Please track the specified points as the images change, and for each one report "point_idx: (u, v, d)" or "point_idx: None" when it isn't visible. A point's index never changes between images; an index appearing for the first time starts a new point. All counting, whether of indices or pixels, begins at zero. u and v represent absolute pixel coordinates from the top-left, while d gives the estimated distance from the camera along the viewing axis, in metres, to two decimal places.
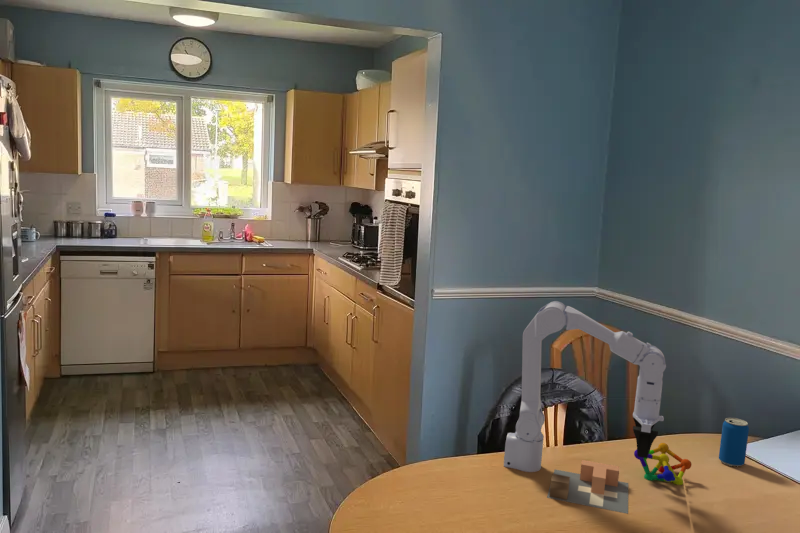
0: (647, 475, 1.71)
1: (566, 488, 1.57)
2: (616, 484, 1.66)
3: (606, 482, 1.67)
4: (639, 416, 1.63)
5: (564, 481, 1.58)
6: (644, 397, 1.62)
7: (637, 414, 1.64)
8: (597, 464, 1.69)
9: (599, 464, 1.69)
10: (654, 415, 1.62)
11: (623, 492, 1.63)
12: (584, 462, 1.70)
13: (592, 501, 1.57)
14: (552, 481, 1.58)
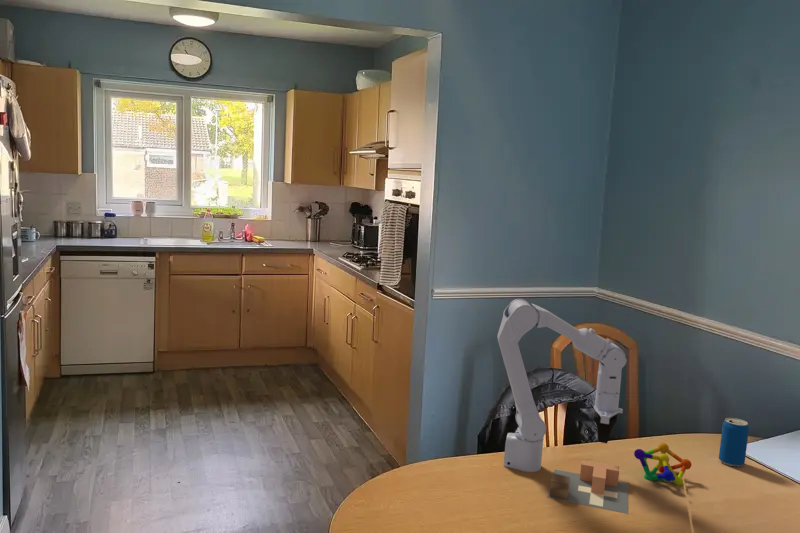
0: (647, 475, 1.71)
1: (566, 488, 1.57)
2: (616, 484, 1.66)
3: (606, 482, 1.67)
4: (599, 408, 1.71)
5: (564, 481, 1.58)
6: (607, 391, 1.70)
7: (597, 407, 1.72)
8: (597, 464, 1.69)
9: (599, 464, 1.69)
10: (613, 408, 1.70)
11: (623, 492, 1.63)
12: (584, 462, 1.70)
13: (592, 501, 1.57)
14: (552, 481, 1.58)
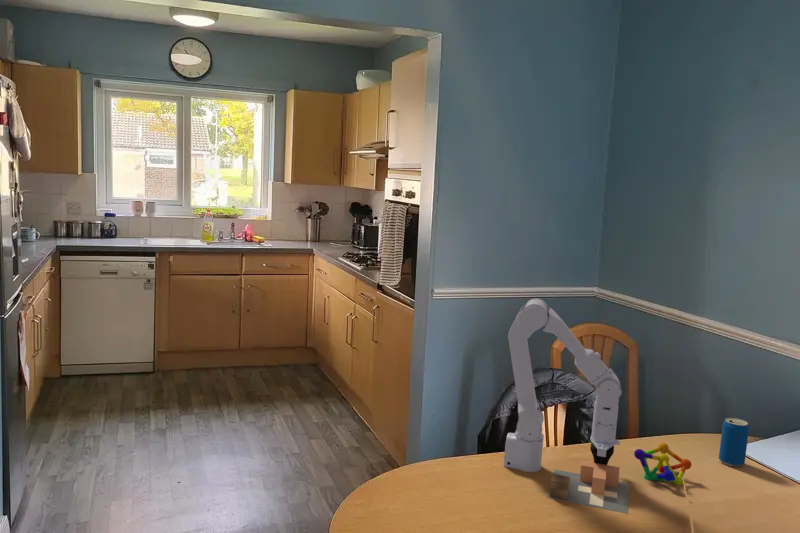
0: (647, 475, 1.71)
1: (566, 488, 1.57)
2: (616, 485, 1.66)
3: (606, 483, 1.66)
4: (596, 440, 1.68)
5: (564, 481, 1.58)
6: (601, 422, 1.67)
7: (594, 438, 1.69)
8: (597, 465, 1.68)
9: (599, 465, 1.68)
10: (610, 439, 1.67)
11: (623, 492, 1.63)
12: (584, 463, 1.69)
13: (592, 501, 1.57)
14: (552, 481, 1.58)
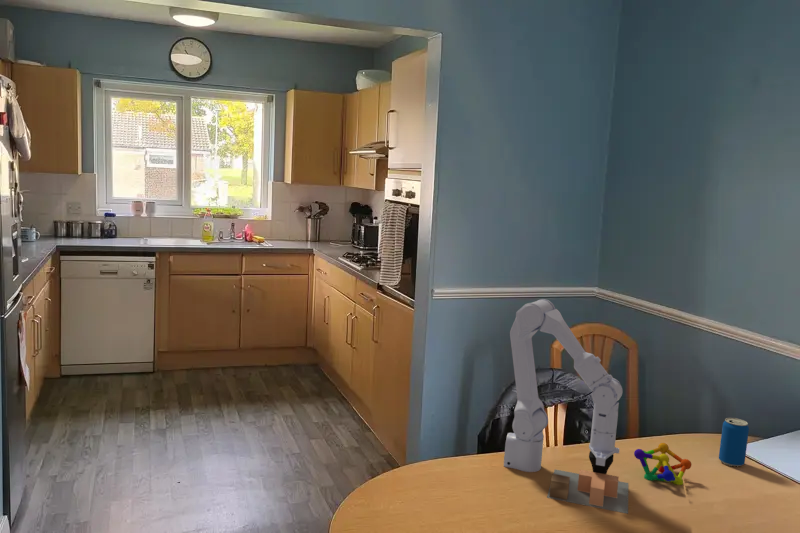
0: (647, 475, 1.71)
1: (566, 488, 1.57)
2: (615, 495, 1.60)
3: (605, 493, 1.61)
4: (595, 448, 1.62)
5: (564, 481, 1.58)
6: (596, 429, 1.62)
7: (593, 446, 1.63)
8: (596, 474, 1.63)
9: (597, 474, 1.63)
10: (610, 448, 1.62)
11: (623, 492, 1.63)
12: (582, 472, 1.64)
13: None
14: (552, 481, 1.58)
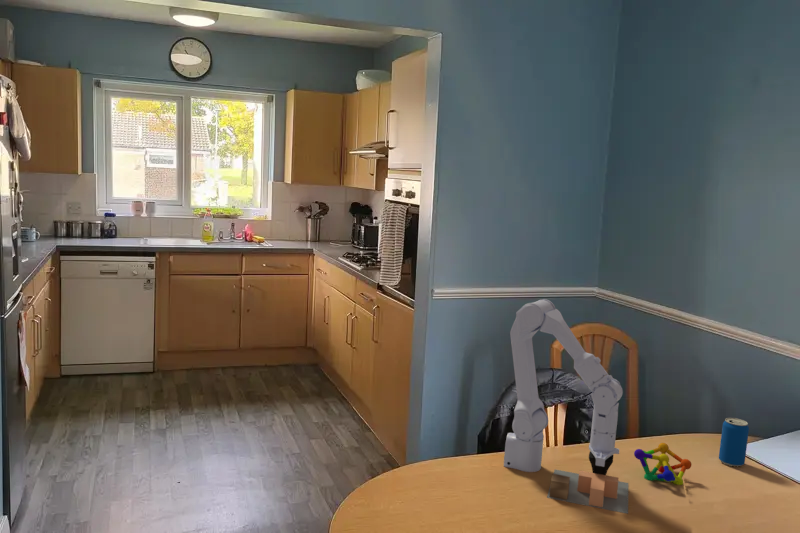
0: (647, 475, 1.71)
1: (566, 488, 1.57)
2: (615, 496, 1.60)
3: (605, 494, 1.60)
4: (594, 449, 1.62)
5: (564, 481, 1.58)
6: (596, 429, 1.62)
7: (592, 447, 1.63)
8: (595, 475, 1.62)
9: (597, 475, 1.62)
10: (609, 448, 1.61)
11: (623, 492, 1.63)
12: (582, 473, 1.63)
13: None
14: (552, 481, 1.58)
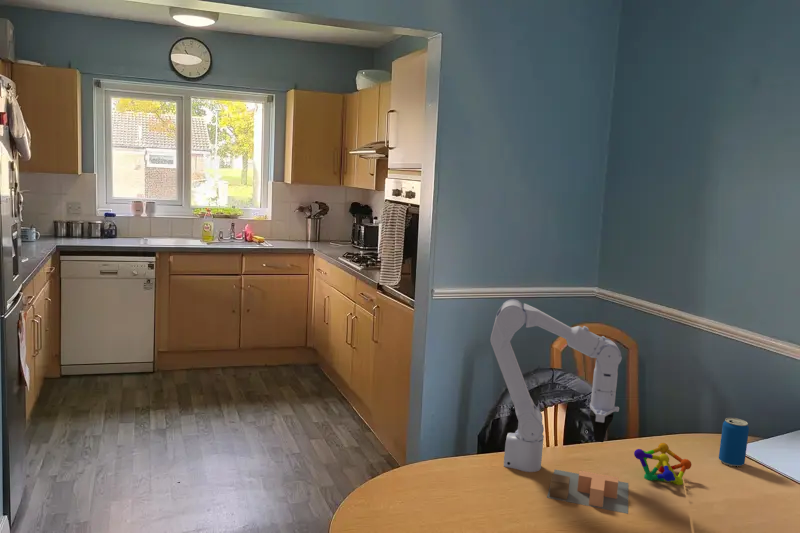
0: (647, 475, 1.71)
1: (566, 488, 1.57)
2: (615, 496, 1.60)
3: (605, 494, 1.60)
4: (595, 407, 1.68)
5: (564, 481, 1.58)
6: (601, 389, 1.67)
7: (593, 405, 1.69)
8: (595, 475, 1.62)
9: (597, 475, 1.62)
10: (609, 406, 1.67)
11: (623, 492, 1.63)
12: (582, 473, 1.63)
13: None
14: (552, 481, 1.58)
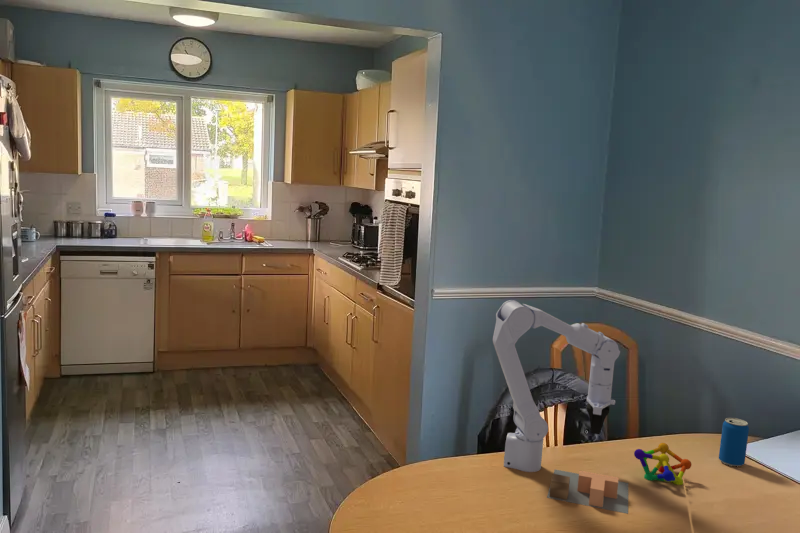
0: (647, 475, 1.71)
1: (566, 488, 1.57)
2: (615, 496, 1.60)
3: (605, 494, 1.60)
4: (592, 400, 1.74)
5: (564, 481, 1.58)
6: (601, 383, 1.72)
7: (590, 398, 1.74)
8: (595, 475, 1.62)
9: (597, 475, 1.62)
10: (606, 399, 1.73)
11: (623, 492, 1.63)
12: (582, 473, 1.63)
13: None
14: (552, 481, 1.58)
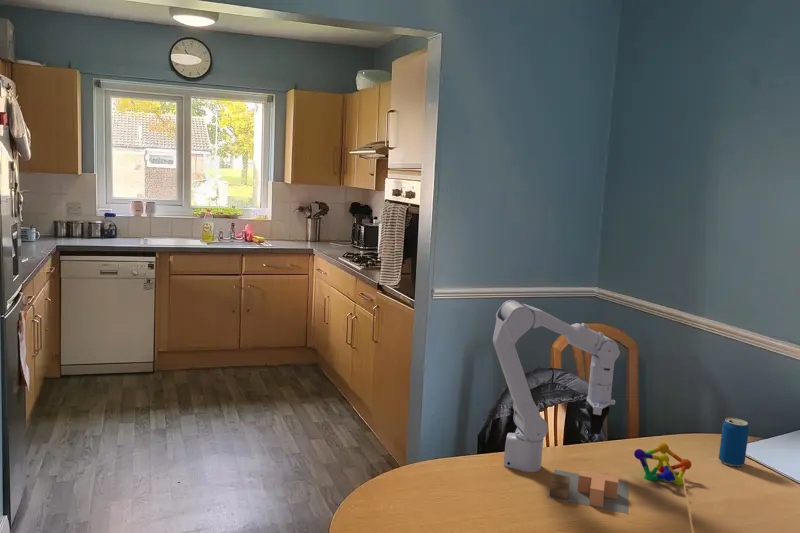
0: (647, 475, 1.71)
1: (566, 488, 1.57)
2: (615, 496, 1.60)
3: (605, 494, 1.60)
4: (592, 400, 1.74)
5: (564, 481, 1.58)
6: (601, 383, 1.72)
7: (590, 398, 1.74)
8: (595, 475, 1.62)
9: (597, 475, 1.62)
10: (606, 399, 1.73)
11: (623, 492, 1.63)
12: (582, 473, 1.63)
13: None
14: (552, 481, 1.58)
